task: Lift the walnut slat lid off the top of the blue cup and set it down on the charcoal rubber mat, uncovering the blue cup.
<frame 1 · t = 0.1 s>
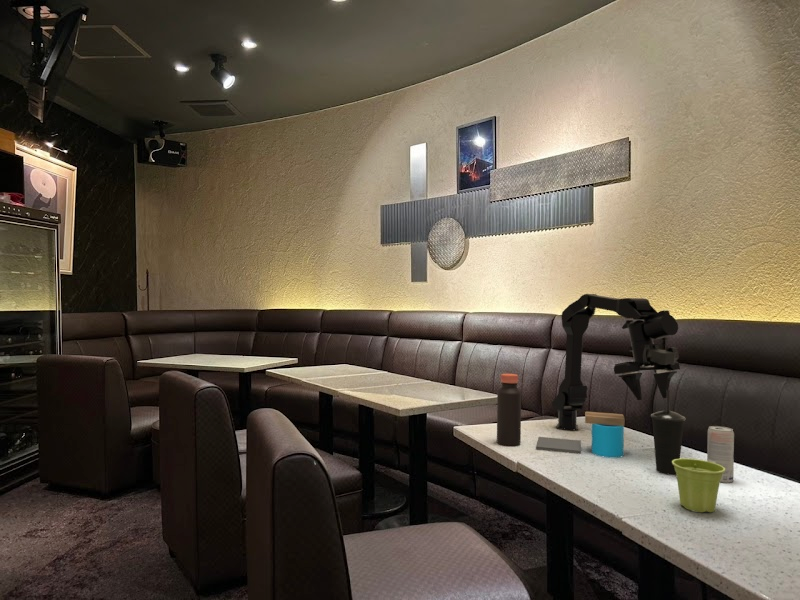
hand: (652, 399, 146), 15 cm above the table, tool pointing down, fingers open, 9 cm apart
drinking cup: (667, 472, 133), on the table
plant pot: (697, 508, 109), on the table
bottle: (508, 444, 157), on the table
rubber mat: (558, 446, 155), on the table
blue cup: (603, 452, 150), on the table, touching walnut lid
walnut lid: (604, 422, 150), point 8 cm above the table, touching blue cup
energy drink: (720, 480, 127), on the table
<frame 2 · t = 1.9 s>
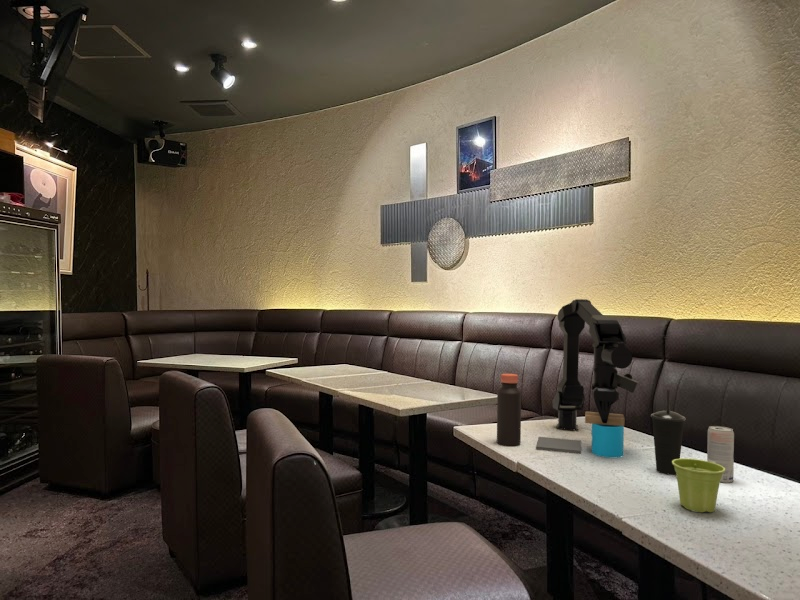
hand: (604, 420, 150), 9 cm above the table, tool pointing down, fingers closed on walnut lid, 6 cm apart
walnut lid: (604, 422, 150), point 8 cm above the table, touching gripper, blue cup
everything else where it was.
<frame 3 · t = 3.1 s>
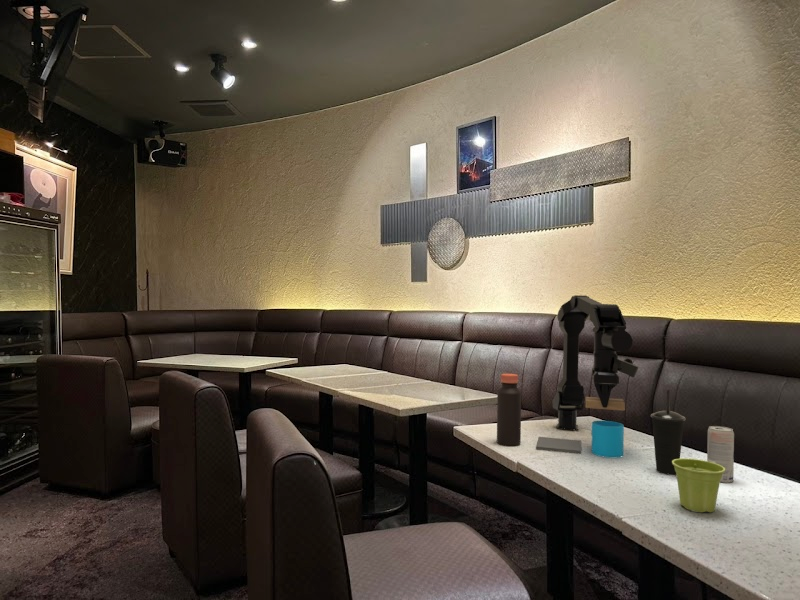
hand: (604, 405, 150), 13 cm above the table, tool pointing down, fingers closed on walnut lid, 6 cm apart
blue cup: (603, 452, 150), on the table
walnut lid: (604, 407, 150), point 12 cm above the table, touching gripper
everything else where it was.
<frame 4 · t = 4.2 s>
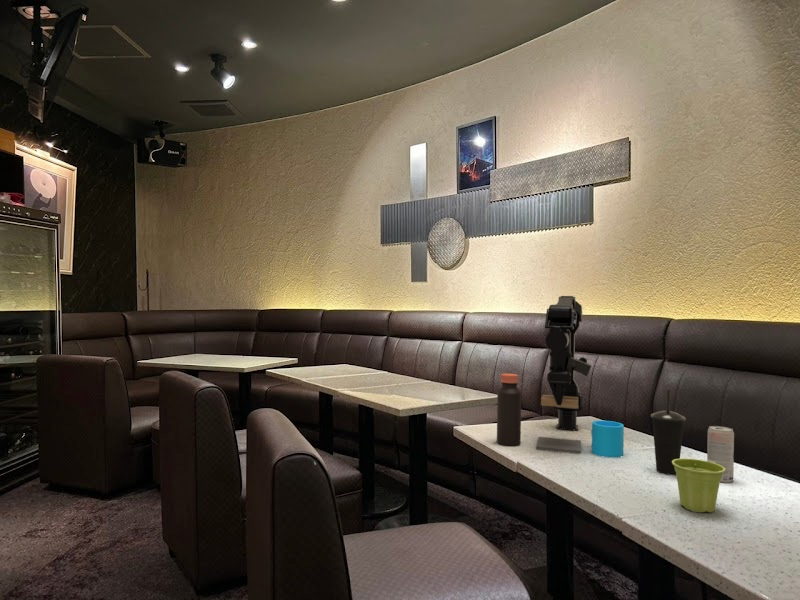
hand: (559, 402, 155), 12 cm above the table, tool pointing down, fingers closed on walnut lid, 6 cm apart
walnut lid: (559, 404, 155), point 12 cm above the table, touching gripper
everything else where it was.
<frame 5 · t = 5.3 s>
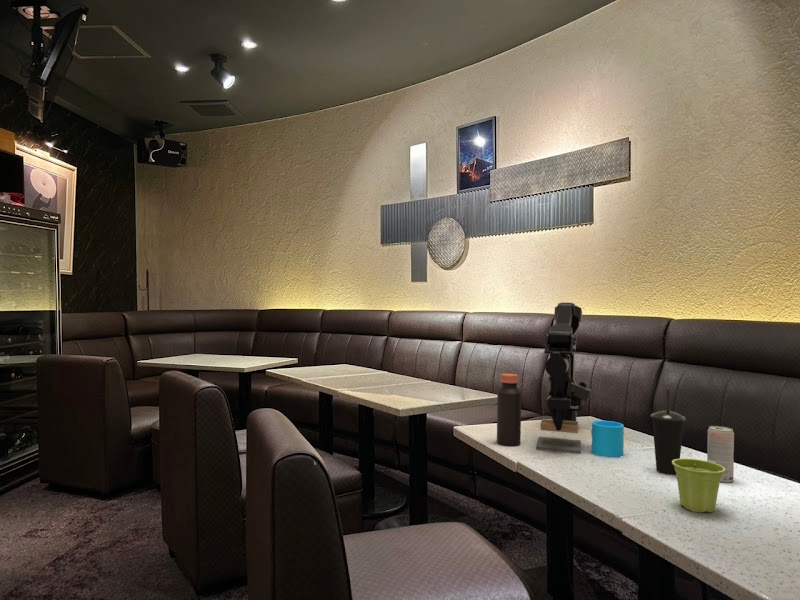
hand: (559, 427, 155), 5 cm above the table, tool pointing down, fingers closed on walnut lid, 6 cm apart
walnut lid: (559, 429, 155), point 5 cm above the table, touching gripper
everything else where it was.
when the fingers open (3 cm above the table, at t = 6.4 s): walnut lid drops 1 cm, resting on rubber mat.
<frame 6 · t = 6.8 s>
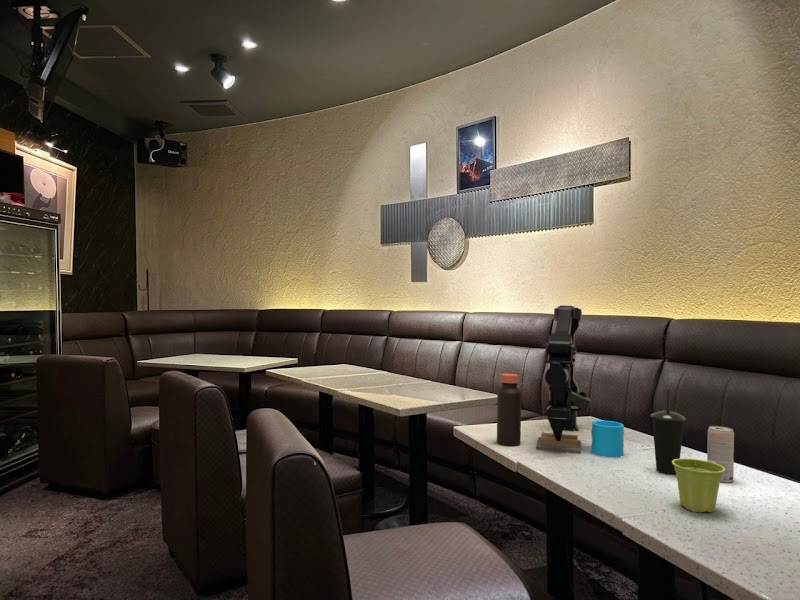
hand: (558, 437, 155), 3 cm above the table, tool pointing down, fingers open, 9 cm apart
walnut lid: (559, 443, 155), point 1 cm above the table, touching rubber mat
everything else where it was.
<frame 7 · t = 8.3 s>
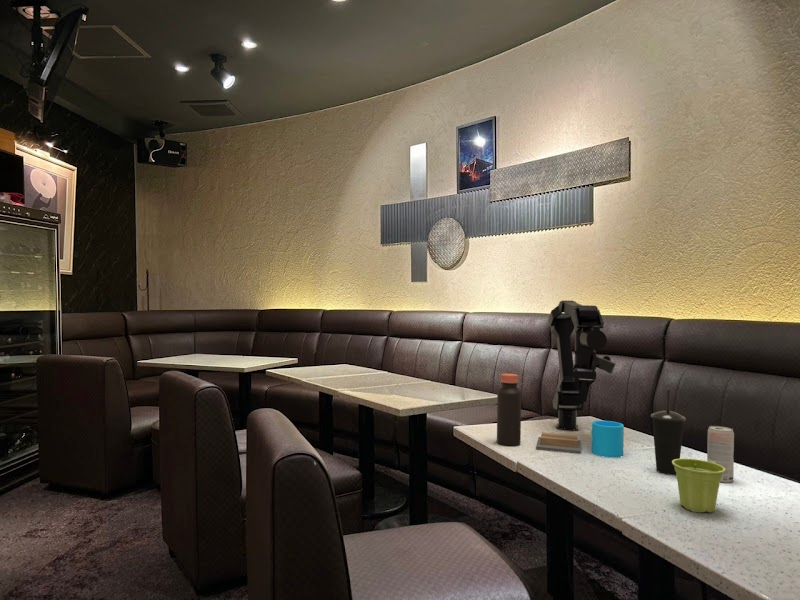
hand: (584, 399, 161), 12 cm above the table, tool pointing down, fingers open, 9 cm apart
nothing on the table moved.
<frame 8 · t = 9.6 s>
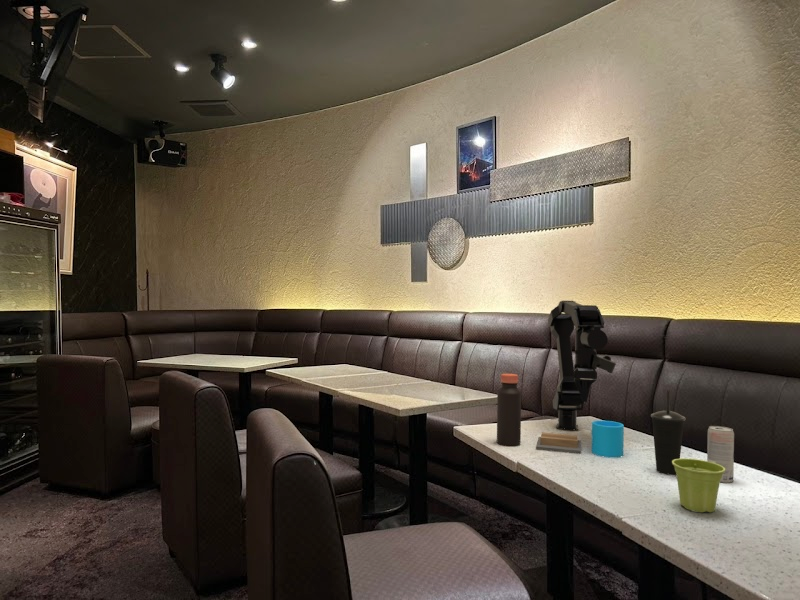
hand: (584, 399, 161), 13 cm above the table, tool pointing down, fingers open, 9 cm apart
nothing on the table moved.
at the end: walnut lid inside the target area on the rubber mat (0.1 cm from its centre), point 0.8 cm above the rubber mat's base; walnut lid touching rubber mat; the gripper is holding nothing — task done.
